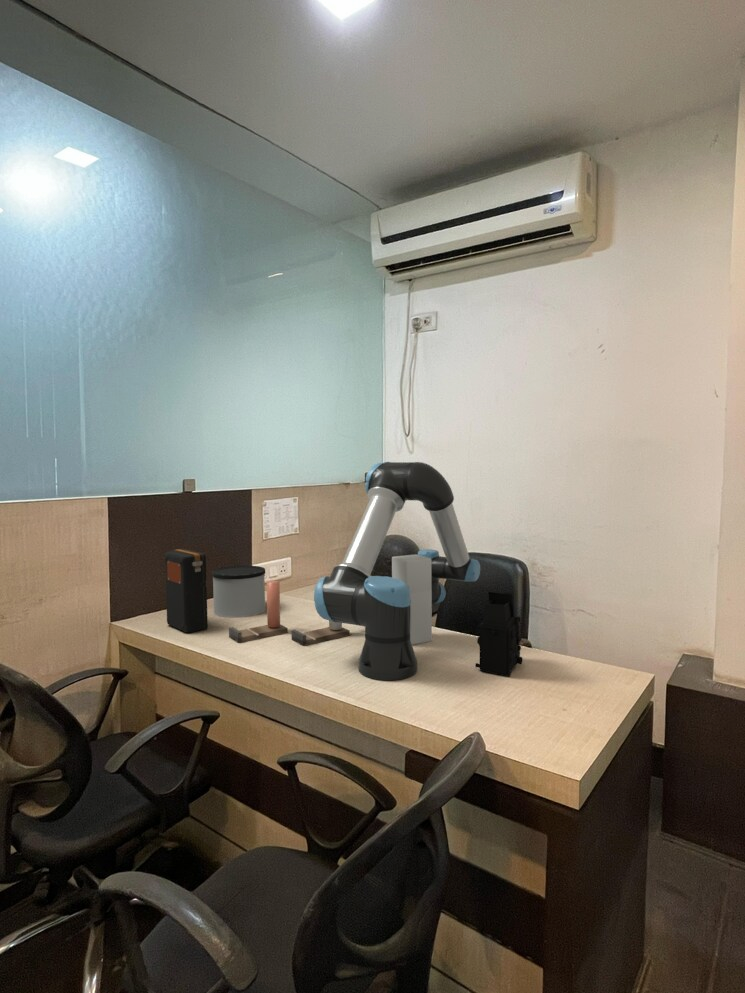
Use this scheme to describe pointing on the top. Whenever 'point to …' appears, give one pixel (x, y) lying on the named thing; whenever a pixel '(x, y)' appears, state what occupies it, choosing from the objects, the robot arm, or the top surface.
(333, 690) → the top surface
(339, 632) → the brown wooden board
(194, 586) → the voltmeter
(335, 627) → the grey plug
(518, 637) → the camera
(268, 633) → the brown base
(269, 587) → the terracotta plug
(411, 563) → the tall white carton
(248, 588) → the container
